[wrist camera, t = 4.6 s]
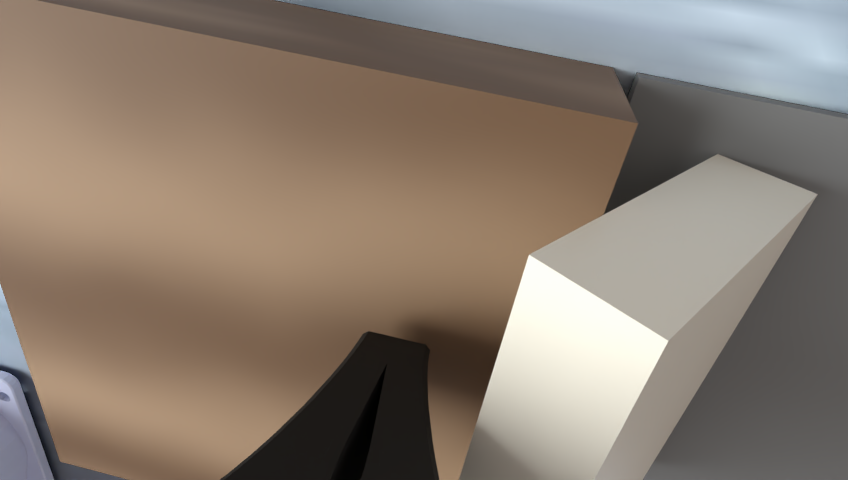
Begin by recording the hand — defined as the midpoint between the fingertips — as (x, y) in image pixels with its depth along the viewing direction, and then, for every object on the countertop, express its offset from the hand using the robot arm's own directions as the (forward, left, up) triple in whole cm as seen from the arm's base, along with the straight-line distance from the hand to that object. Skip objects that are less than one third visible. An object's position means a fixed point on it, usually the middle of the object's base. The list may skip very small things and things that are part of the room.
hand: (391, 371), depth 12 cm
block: (0, -4, -1) cm, 4 cm away
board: (-1, +3, -4) cm, 5 cm away
